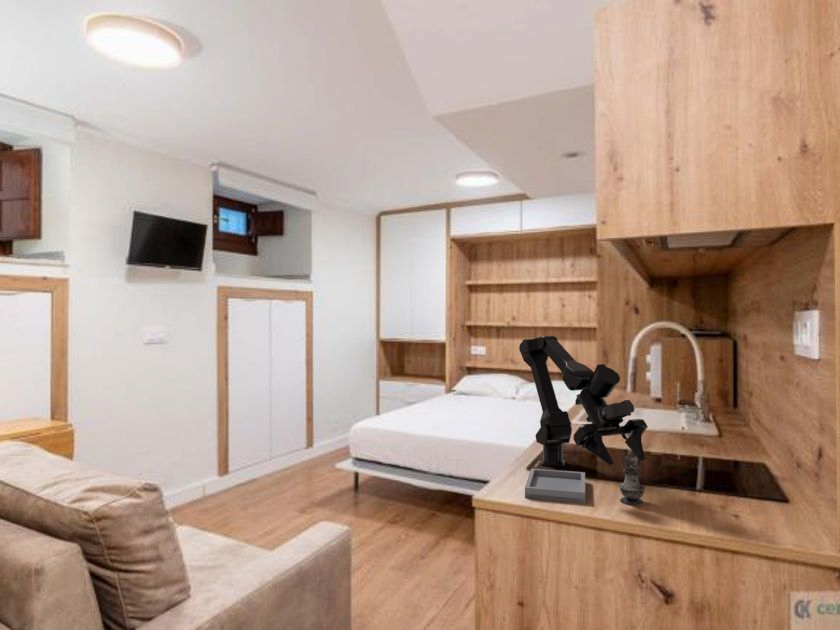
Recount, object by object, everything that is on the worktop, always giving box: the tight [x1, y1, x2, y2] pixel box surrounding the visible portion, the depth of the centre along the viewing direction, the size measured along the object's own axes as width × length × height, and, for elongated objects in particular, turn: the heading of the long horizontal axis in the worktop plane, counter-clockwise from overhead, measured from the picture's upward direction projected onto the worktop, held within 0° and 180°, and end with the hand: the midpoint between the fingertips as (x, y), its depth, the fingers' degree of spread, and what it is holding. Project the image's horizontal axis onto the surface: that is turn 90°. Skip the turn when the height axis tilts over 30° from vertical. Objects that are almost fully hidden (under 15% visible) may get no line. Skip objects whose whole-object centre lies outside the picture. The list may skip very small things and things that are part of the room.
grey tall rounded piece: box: [618, 450, 646, 507], centre depth 120 cm, size 6×6×12 cm
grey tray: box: [524, 468, 586, 504], centre depth 129 cm, size 16×14×2 cm
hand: (627, 462), depth 121 cm, fingers open, 9 cm apart
